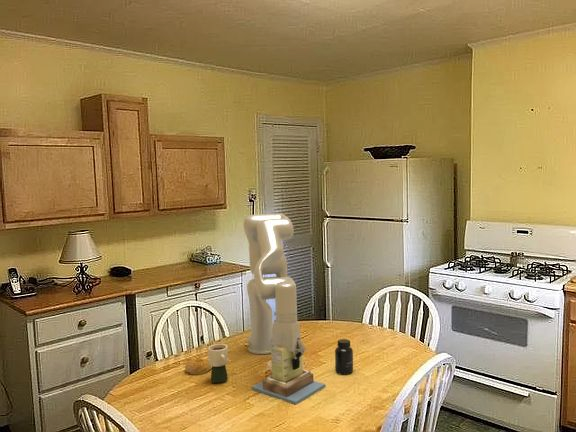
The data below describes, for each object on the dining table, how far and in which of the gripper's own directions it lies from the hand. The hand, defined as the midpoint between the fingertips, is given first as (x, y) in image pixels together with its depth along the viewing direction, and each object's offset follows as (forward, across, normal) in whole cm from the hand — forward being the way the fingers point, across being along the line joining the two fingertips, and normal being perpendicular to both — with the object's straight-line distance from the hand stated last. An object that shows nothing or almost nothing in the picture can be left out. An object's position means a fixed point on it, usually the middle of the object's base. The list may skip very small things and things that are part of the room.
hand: (287, 365), depth 177 cm
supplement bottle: (+8, +8, +24) cm, 27 cm away
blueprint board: (+8, 0, 0) cm, 8 cm away
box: (+4, 0, 0) cm, 4 cm away
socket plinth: (+8, 0, 0) cm, 8 cm away
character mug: (+8, -25, -10) cm, 28 cm away
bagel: (+9, -39, -7) cm, 41 cm away
